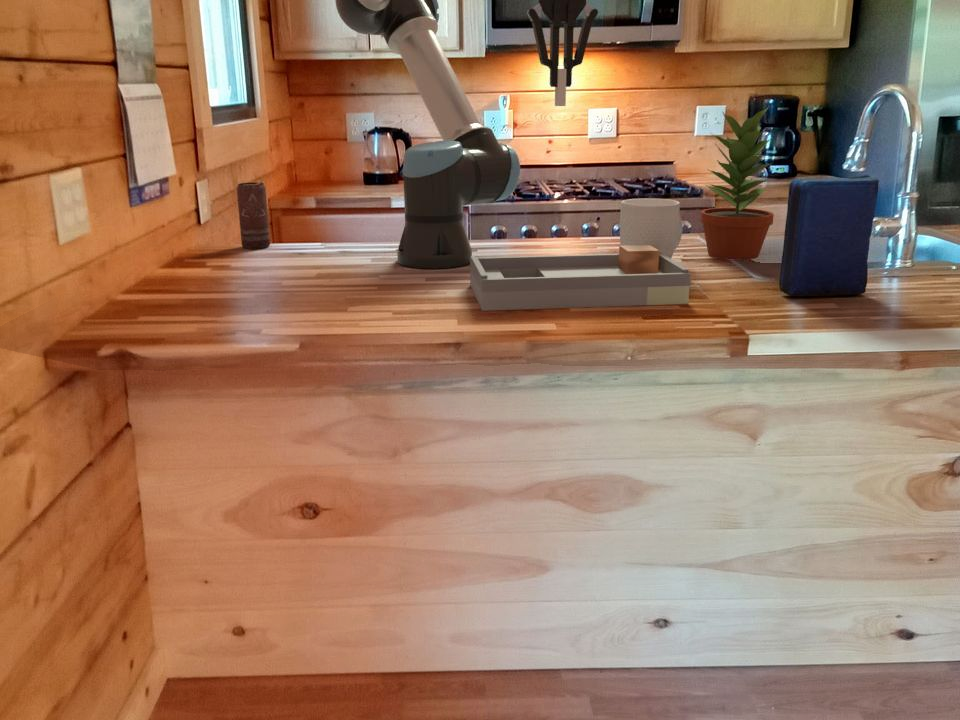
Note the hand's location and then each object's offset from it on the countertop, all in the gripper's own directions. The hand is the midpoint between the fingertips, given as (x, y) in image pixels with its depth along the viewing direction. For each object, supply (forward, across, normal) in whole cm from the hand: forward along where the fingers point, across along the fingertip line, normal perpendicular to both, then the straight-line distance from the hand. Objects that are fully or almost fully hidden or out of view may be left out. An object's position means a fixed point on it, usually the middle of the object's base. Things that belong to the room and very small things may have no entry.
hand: (560, 105), depth 158 cm
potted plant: (+31, +39, +6) cm, 50 cm away
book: (+31, +40, -30) cm, 58 cm away
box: (+30, -2, -23) cm, 38 cm away
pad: (+30, +12, -23) cm, 40 cm away
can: (+31, -62, +30) cm, 75 cm away
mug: (+31, +18, -4) cm, 36 cm away
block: (+27, +11, -19) cm, 35 cm away
